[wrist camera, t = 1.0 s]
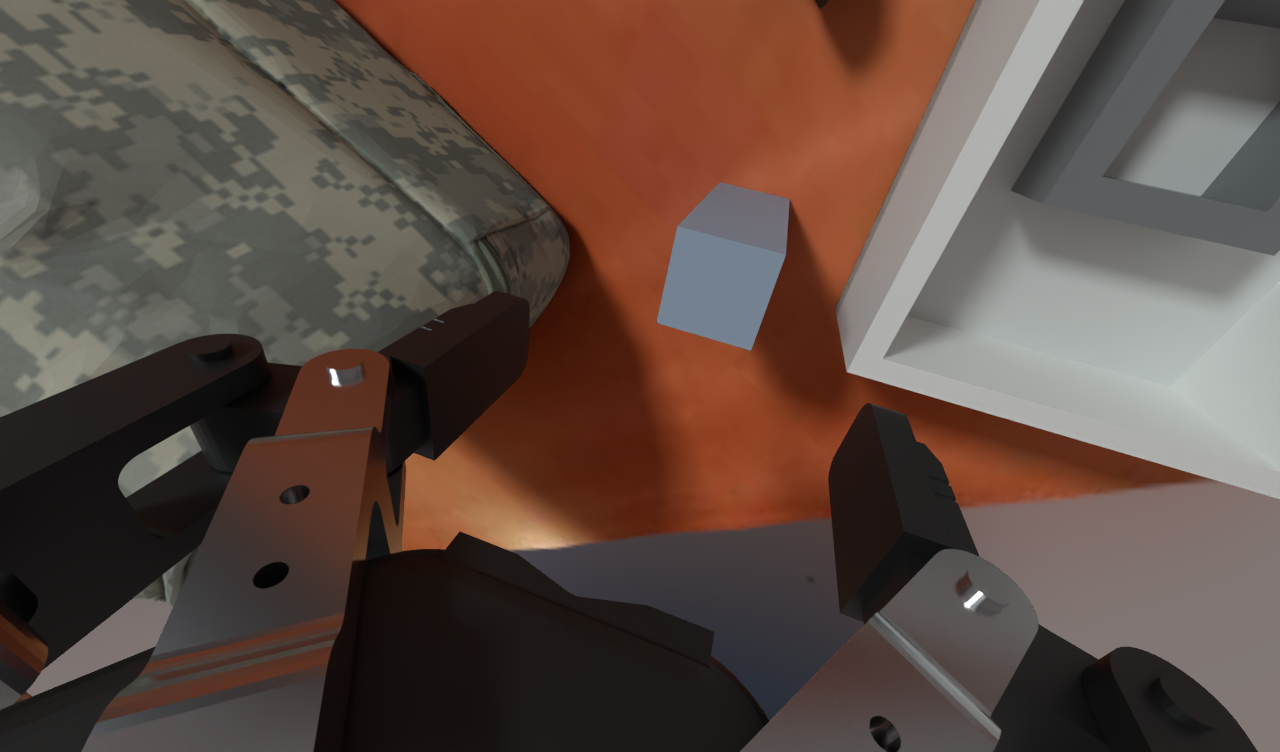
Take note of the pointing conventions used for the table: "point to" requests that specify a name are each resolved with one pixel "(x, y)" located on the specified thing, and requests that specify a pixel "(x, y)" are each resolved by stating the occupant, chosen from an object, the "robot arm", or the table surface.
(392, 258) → the lunch bag
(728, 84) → the table surface
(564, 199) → the table surface
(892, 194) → the walled box
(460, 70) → the table surface
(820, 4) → the hand tool
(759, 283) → the plug
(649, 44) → the table surface
